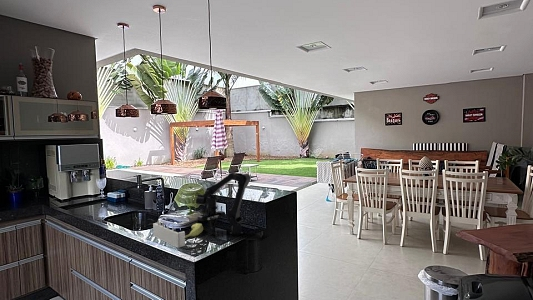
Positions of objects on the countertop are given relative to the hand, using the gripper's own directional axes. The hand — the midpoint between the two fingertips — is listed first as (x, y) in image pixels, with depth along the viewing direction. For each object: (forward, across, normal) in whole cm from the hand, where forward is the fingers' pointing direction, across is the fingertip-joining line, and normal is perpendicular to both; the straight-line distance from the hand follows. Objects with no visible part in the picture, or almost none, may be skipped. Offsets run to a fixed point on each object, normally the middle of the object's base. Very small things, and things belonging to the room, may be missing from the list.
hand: (212, 228), depth 194 cm
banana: (+2, +11, -6) cm, 13 cm away
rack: (+2, +29, -4) cm, 29 cm away
